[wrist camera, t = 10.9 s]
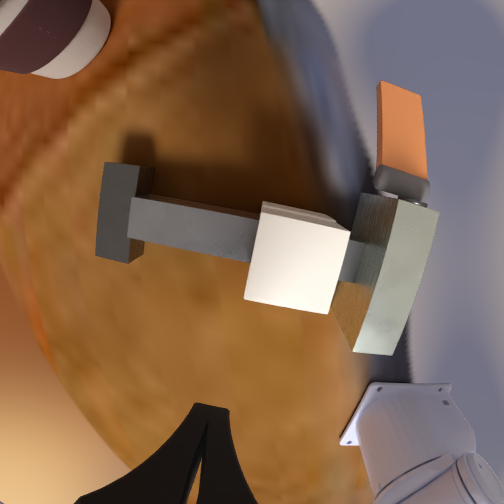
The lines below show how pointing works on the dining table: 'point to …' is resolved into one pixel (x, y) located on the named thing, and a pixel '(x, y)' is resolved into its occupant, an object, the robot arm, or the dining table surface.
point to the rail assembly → (243, 238)
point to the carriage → (296, 258)
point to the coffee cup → (51, 35)
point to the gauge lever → (400, 143)
